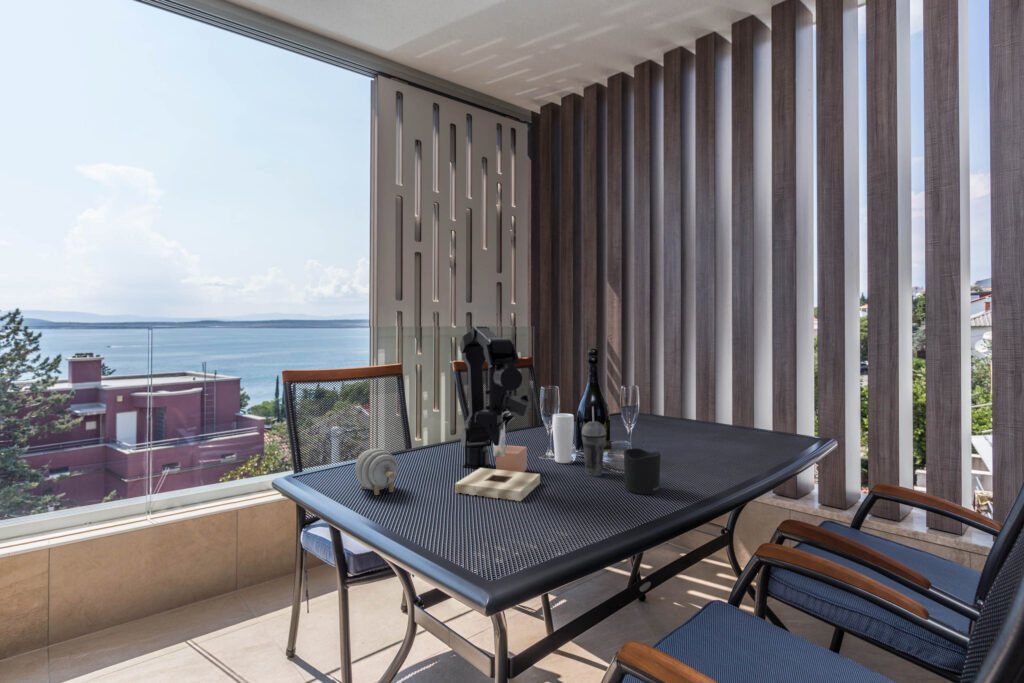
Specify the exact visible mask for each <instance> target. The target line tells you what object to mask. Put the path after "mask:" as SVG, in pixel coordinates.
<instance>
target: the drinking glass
mask: <svg viewBox="0 0 1024 683" xmlns="http://www.w3.org/2000/svg"><path fill="white" fill-rule="evenodd" d="M574 420H575V416H574V414H572V413H562V412H561V413H560V412H559V413H554V414H552V422H551V423H552V437H553V438H552V439H553V451H554V453H553V454H554V461H555V462H556V463H557V464H569V463H571V462H572V454H573V453H572V451H573V444H574V443H573V442H574V441H573V440H574V439H573V438H574V430H575V428H574V427H575V421H574Z"/></svg>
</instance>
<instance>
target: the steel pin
mask: <svg viewBox="0 0 1024 683" xmlns="http://www.w3.org/2000/svg"><path fill="white" fill-rule="evenodd" d="M505 446H506V435H505V423H504V424H503V425H502V426H501V432H500V440H499V445H498V446H495V445H494V443H493V442H492V456H493V457H495V458H496V457H503V456H505Z"/></svg>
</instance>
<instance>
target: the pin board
mask: <svg viewBox="0 0 1024 683" xmlns="http://www.w3.org/2000/svg"><path fill="white" fill-rule="evenodd" d="M540 483H541V473H535V472H534V473H533V472H526V471H525V472H516V471H506V470H497V469H496V468H495V469H493V468H487V467H483V468H477V469H476V470H474V471H473V472H471V473H469V474H468V475H466V476H465V477H463V478H461V479H460V480H458V481H457V482H455V483H454V493H455V494H459V493H462V494H461V495H466V494H469V496H474V495H477V496H476V497H482V496H484V497H485V498H490V497H491V499H498V498H501V499H500V500H506V499H507V500H506V501H508V500H509V501H513V500H515V502H521V501H523V499H524V498H526V497H527V496H528V495H529V494H530V493H531V492H532V491H533V490H534V489H536V488H537V486H539V485H540ZM484 497H483V498H484Z"/></svg>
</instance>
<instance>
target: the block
mask: <svg viewBox="0 0 1024 683" xmlns="http://www.w3.org/2000/svg"><path fill="white" fill-rule="evenodd" d="M527 452H528V447H527V446H521V445H510V444H509V445H508V444H507V445H506V444H505V456H503V457H495V469H497V470H506V471H516V472H525V473H526V471H527V470H528V466H527V465H528V454H527Z"/></svg>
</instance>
